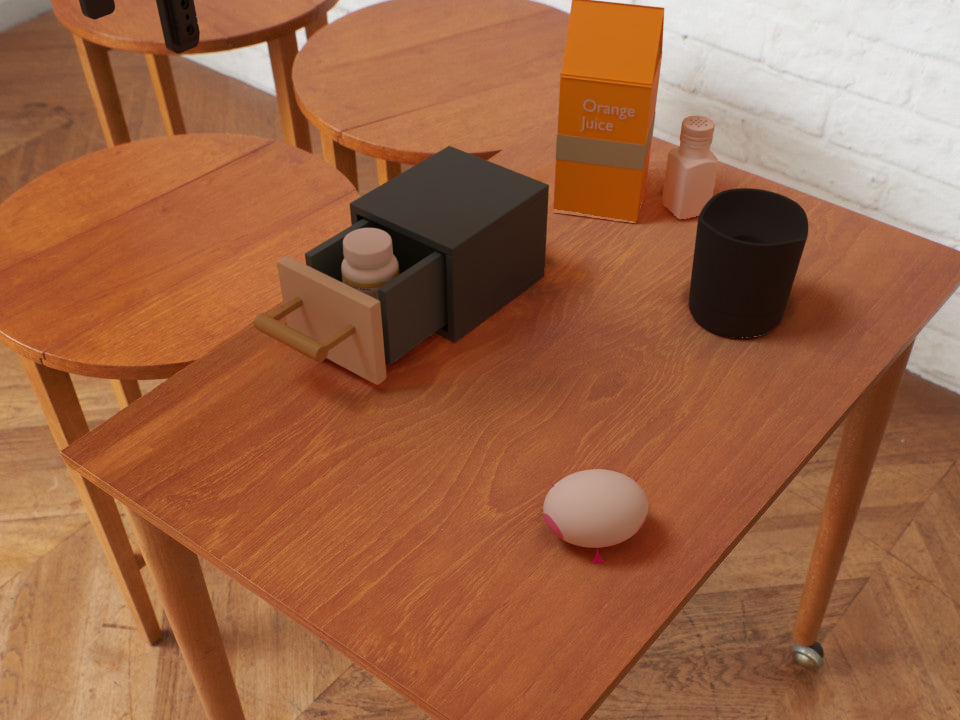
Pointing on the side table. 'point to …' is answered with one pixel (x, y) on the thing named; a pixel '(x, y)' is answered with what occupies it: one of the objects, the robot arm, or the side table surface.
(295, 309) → the drawer
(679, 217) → the pepper shaker
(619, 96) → the orange juice
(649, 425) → the side table surface
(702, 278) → the pen holder
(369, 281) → the supplement bottle
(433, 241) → the cabinet
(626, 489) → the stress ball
